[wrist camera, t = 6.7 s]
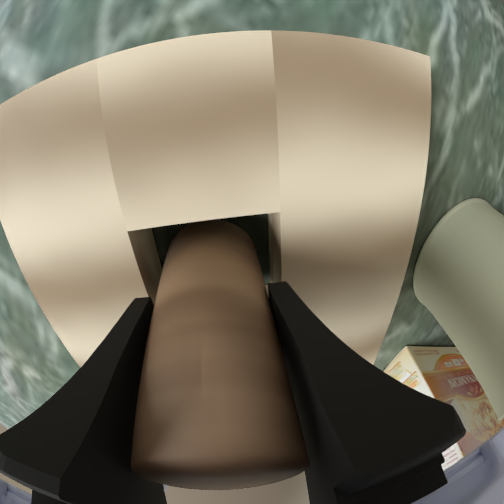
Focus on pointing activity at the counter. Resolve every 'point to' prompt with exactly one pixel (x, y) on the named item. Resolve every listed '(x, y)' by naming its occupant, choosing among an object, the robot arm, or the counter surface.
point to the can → (468, 289)
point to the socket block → (220, 172)
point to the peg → (215, 371)
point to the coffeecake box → (449, 392)
